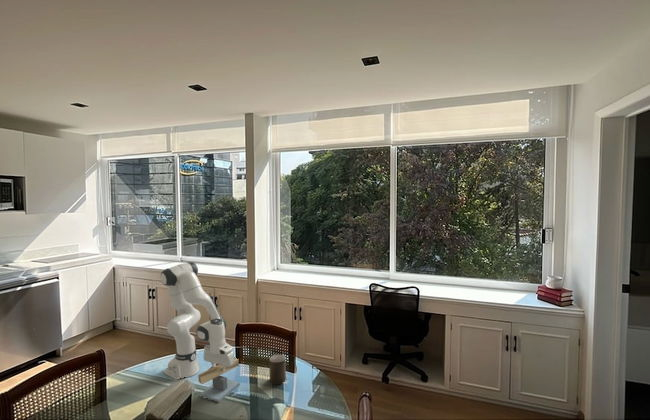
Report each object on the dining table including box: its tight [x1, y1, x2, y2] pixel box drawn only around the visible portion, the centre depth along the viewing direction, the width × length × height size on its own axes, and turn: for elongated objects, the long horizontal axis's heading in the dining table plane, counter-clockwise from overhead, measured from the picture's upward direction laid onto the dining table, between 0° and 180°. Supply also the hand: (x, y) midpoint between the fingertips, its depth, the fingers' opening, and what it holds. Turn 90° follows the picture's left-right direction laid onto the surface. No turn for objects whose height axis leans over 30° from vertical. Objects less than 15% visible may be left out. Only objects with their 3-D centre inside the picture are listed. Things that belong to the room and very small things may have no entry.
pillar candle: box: [269, 354, 287, 385], centre depth 207 cm, size 10×10×15 cm
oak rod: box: [197, 357, 240, 385], centre depth 197 cm, size 4×24×4 cm, turn 140°
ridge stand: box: [199, 375, 241, 403], centre depth 198 cm, size 14×18×8 cm
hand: (219, 370), depth 197 cm, fingers closed on oak rod, 5 cm apart
